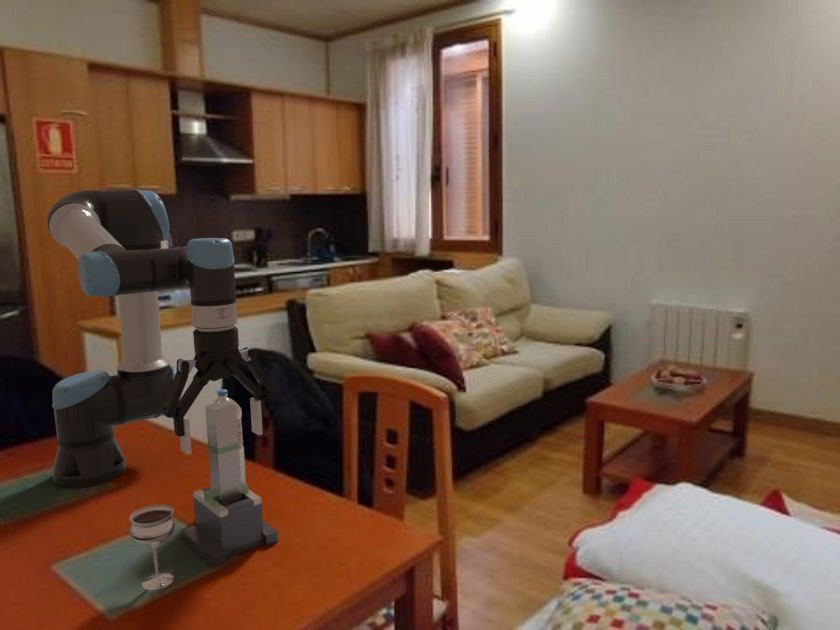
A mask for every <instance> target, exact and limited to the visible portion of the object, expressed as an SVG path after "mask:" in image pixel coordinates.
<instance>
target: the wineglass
mask: <svg viewBox="0 0 840 630" xmlns="http://www.w3.org/2000/svg"><path fill="white" fill-rule="evenodd" d="M173 515H174V508H173V507H172V506H169V505H166V504H153V505H152V504H151V505H148V506H144V507H141V508H139V509H137V510H135V511H133V512H132V514H131V515H130V516H129V521H130V522H131V524H130V525H131V526H130V535H131V537H132V538H133V540H134V541H135V542H136V543H138V544H139V545H142V546H145V547H150V548H152V549H151V550H152V555H153V564H154V569H155V574H151V575H149V576H147V577H145V579H144V580H143V581H142V582H141V587H142V588H143V589H144V590H147V591H157V590H161V589H164V588H166V587H168V586H169V585H171V584H172V583H173V581H174V579H175V576H174V575H173V573H172V574H171V573H168V572H159V551H158V547H159V546H160V545H161V544H163V543H165V542H166V541H167V540H168V539H169V537H170V536H171V535H172V534H173V532H174V530H175V526H176V525H175V524H176V520H175V517H174V516H173Z"/></svg>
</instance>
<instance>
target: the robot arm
mask: <svg viewBox="0 0 840 630" xmlns="http://www.w3.org/2000/svg"><path fill="white" fill-rule="evenodd" d="M46 225H47V226H46V227H47V230H48V233H49V234H50V236H51V237H52V238H53V240H54V241H55V242H56V243H58V244H59V245H60V246H62V247H64V248H67V249H68V250H69V251H70V252H71V253H72V254H73V256H74V257H75V258H76V259H77V276H78V280H79V282H78V283H79V285H80V288H81V292H83V294H84V295H85V296H87V297H90V298H91V297H105V298H109V297H114V296H117V299H118V310H119V324H120V335H121V337H120V338H121V345H122V357H123V358H122V360H121V361H120V362H119V363H118V364H117V366H116V370H117V374H115V375H110V374H109V372H107V371H105V370H93V371H92V370H90V371H84V372H81V373H77V374H73V375H71V376H68V377H65V378H63V379H61V380H60V381H58V382H57V383H56V384H55V385H54V387H53V388H52V405H51V407H52V408H53V412H54V413H53V414H54V422H55V430H56V439H57V450H56V451H57V452H56V454H55V458H54V463H53V467H52V470H51V471H52V473H51V474H52V475H51V476H52V483H53V484H54V485H56V486H58V487H61V488H67V489H68V488H69V489H75V488H86V487H93V486H97V485H100V484H104V483H106V482H110V481H112V480H114V479H116V478H119V476H122V475H123V473H125V471H126V469H127V464H126V458H125V455H124V454H123V451H122V450H121V447H120V445H119V444H118V441H117V440H116V437H115V436H116V435H115V427H116V426H120V425H125V424H130V423H134V422H140V421H145V420H151V419H157V418H160V417H162V416H165V417H166V418H168V419H172V420H173V431H174V434H175V436H177V437H179V440H180V451H181V452H182V453H184V454H185V455H187V456H189V455H192V454H193V453H192V452H193V451H192V439H191V438H192V437H191V428H190V417H188V416H186V414H187V413H188V412H189V410H190V409H191V407H192V406H193V404H194V402H195V401H196V400H197V398H198V396H199V395H200V393H201V392H202V391H203V389H204V387H206V385H208V383H209V382H210V381H212V382H217V381H219V380H221V379H226V380H227V379H230V378H231V377H232V376H233V377H234V379H235V380H237V381H238V382H239V384H240V385H242V386H243V387H244V388H245V389H246V390H247V391H248V392H249V393H250V394H251V395H253V397H251V398H249V400H250V401H249V404H250V419H251V421H250V422H251V432H252V433H253V434H255V435H257V436H261V435H263V434H264V433H263V419H262V418H263V417H262V416H265V415H266V401H267V400H268V398H269V395H273V394H274V393H275V389H274V387H273V386H272V383H271V382H270V380H269V377H268V376H267V375H266V373H265V372H264V370H263V368H262V366H261V365H260V363H259V361H258V356H257V352H256V350H255V349H254V348H251V347H249V346H247V347H244V349H243V350H240V349H239V345H240V344H239V343H240V341H239V339H240V338H239V329H238V327H237V326H235V325H237V323H238V314H237V313H238V309H237V299H236V298H237V295H236V293H237V292H236V278H235V276H236V273H235V256H234V251H233V250H234V248H233V244H232V243H233V242H231V240H230V239H228V238H225V237H221V238H220V237H200V238H193V239H190V240H188V242H187V244H186V245H185V246H184V245H179V246H176V247H168V248H167V247H166V248H162V242H165V241H166V240H168V239H169V236H170V223H169V218H168V213H167V209H166V207H165V204H164V202H163V200H162V199H161V197H160V196H159V195H158V194H157V193H156V192H154V191H152V190H146V189H145V190H142V189H100V190H99V189H97V190H96V189H83V190H77V191H74V192H71V193H69V194H66V195H64V196H63V197H61V198H60V199H58V200H57V201H55V203H54V204H53V205H52V206H51V208H50V209H49V211H48V213H47V217H46ZM185 289H189V292H190V293H189V294H190V295H189V296H190V306H191V307H190V308H191V320H192V321H191V322H192V324H191V325H192V327H194V328H195V329H194V330H193V331H192V334H193V335H192V336H193V337H192V338H193V350H194V357H193V359H183V358H179V359H177V360H176V367H175V366H172V365H171V362H170V360H169V359H168V358H167V357H166V356H164V355H163V348H162V347H163V345H162V333H161V332H162V331H161V317H160V307H159V293H158V292H163V291H173V290H174V291H175V290H185ZM241 360H243V361H245V363H246V365H247V366H248V368H249V371H250V372H251V373H252V376H253V377H254V379H255V380H256V382H257V384H258V385H259V387H260V388H259V387H258V385H256V384H255V383H254V382H253V381H252V380H251V379H250V378H249V377H248V376H247V375H246V374H245V372H244V371H242V369H240V367H238V365H239V364H240V362H241ZM194 368H195V369H196V370H197V371H196V372H195V374H194V375H193V377H192V381H191V382H190V384H189V386H188V387H187V388H186V389H185V387H186V384H187V382H188V379H189V375H190V373H192V371H193V369H194ZM184 389H185V391H184ZM183 392H184V393H183Z"/></svg>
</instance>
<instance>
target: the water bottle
mask: <svg viewBox="0 0 840 630" xmlns="http://www.w3.org/2000/svg"><path fill="white" fill-rule="evenodd" d="M224 401H227V402H229V403H231V404H233V405H235V406H236V410H237V425H238V441H239V457H240V473H241V481H242V482H244V483H245V484H247V479H246V465H245V464H246V463H245V447H244V445H243V444H244V440H243V427H242V426H243V425H242V415H243V414H242V413H243V411H242V407H240V405H239V404H238V403H237V402H236V401H235V400H233V398H230V397H228V390H227V389H224V388H223V389H219V390H217V398H216V399H215V400H214V401H212V403H211V404H216V403H220V402H224Z"/></svg>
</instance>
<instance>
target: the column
mask: <svg viewBox="0 0 840 630" xmlns="http://www.w3.org/2000/svg"><path fill="white" fill-rule="evenodd" d="M204 407H205V408H204V409H205V421H206V423H205V424H206V436H207V437H206V439H207V444H206V445H207V449H208V451H207V452H208V463H209V464H208V465H209V479H210V486H211V490H208V491H205V492H204V498H205V499H206V500H207V501H209V502H210V503H211V504H214V503H217V502H218V503H220V504H221V505H222V506H224V507H225V506H227V505H230V504H233V503H236V502H239V501H242V494H243V493H246V492H249V490H250V489H249V485H248V484H247V483H246V484H245V483H244V482H242V481H241V473H240V457H239V441H238V425H237V410H236V406H235V405H233V404H231V403H229V402H227V401H224V402H220V403H216V404H212V403H210V404H208V405H205V406H204Z"/></svg>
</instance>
